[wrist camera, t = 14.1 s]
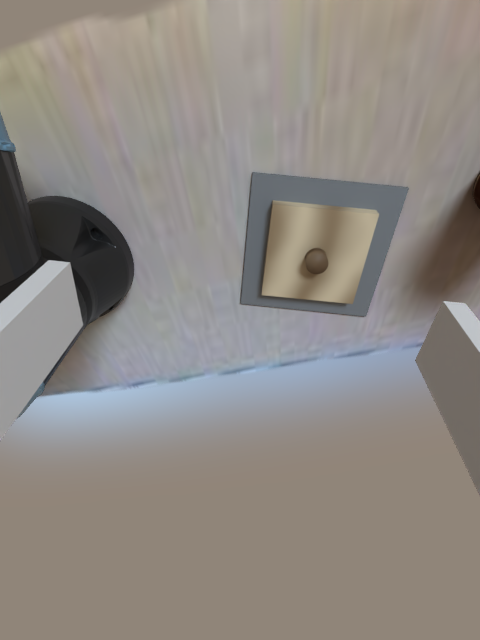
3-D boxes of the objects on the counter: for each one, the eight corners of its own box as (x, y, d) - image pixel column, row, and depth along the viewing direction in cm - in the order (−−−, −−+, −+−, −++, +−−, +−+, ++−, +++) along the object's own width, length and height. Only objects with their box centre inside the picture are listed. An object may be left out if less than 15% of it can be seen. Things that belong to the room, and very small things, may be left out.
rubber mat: (240, 302, 47) (240, 303, 47) (252, 172, 38) (252, 172, 38) (365, 315, 47) (365, 316, 47) (407, 187, 38) (408, 188, 38)
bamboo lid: (261, 289, 46) (261, 302, 43) (272, 200, 39) (272, 209, 37) (350, 297, 45) (355, 311, 43) (376, 209, 39) (383, 219, 37)
